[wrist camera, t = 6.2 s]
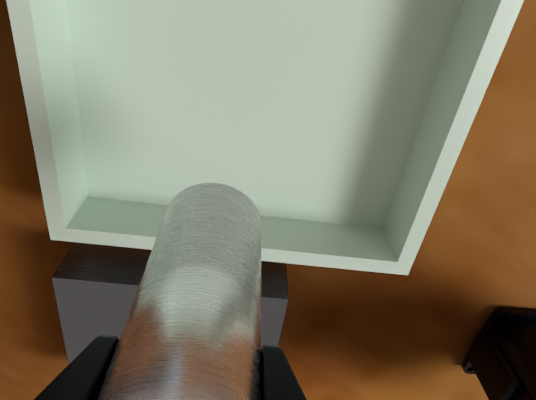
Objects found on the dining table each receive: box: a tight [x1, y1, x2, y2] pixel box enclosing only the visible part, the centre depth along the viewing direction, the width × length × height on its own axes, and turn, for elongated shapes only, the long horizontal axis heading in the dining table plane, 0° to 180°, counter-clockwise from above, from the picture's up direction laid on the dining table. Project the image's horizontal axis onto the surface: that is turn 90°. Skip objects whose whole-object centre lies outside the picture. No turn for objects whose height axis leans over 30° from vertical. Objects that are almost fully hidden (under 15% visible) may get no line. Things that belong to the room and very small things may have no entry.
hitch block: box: [52, 242, 288, 364], centre depth 25 cm, size 12×12×4 cm
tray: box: [6, 0, 524, 275], centre depth 17 cm, size 18×18×4 cm
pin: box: [97, 183, 261, 400], centre depth 8 cm, size 3×3×12 cm
